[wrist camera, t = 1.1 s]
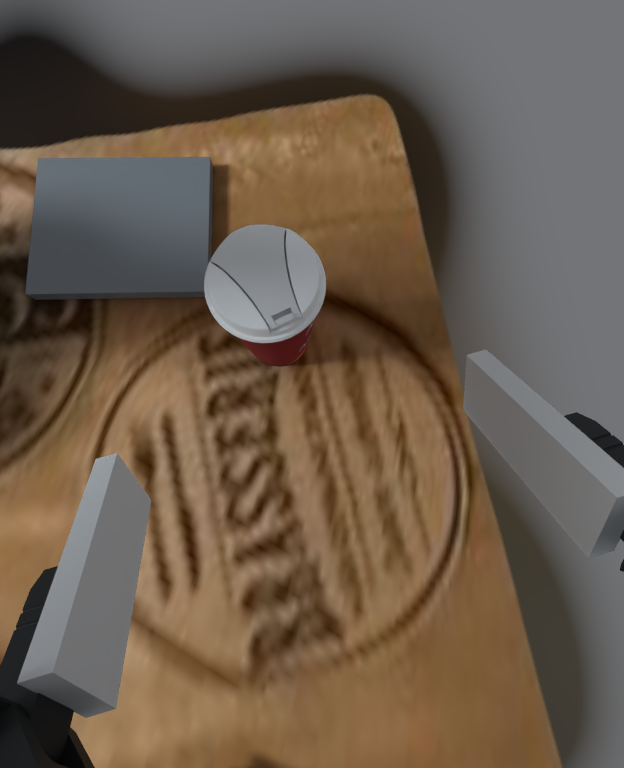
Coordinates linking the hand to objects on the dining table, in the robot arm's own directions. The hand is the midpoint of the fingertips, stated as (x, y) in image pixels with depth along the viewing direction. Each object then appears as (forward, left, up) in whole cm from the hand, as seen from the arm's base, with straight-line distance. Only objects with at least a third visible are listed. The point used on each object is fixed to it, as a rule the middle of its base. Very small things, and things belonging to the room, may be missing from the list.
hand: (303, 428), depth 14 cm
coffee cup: (-2, +10, -24) cm, 26 cm away
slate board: (-18, +22, -24) cm, 37 cm away
